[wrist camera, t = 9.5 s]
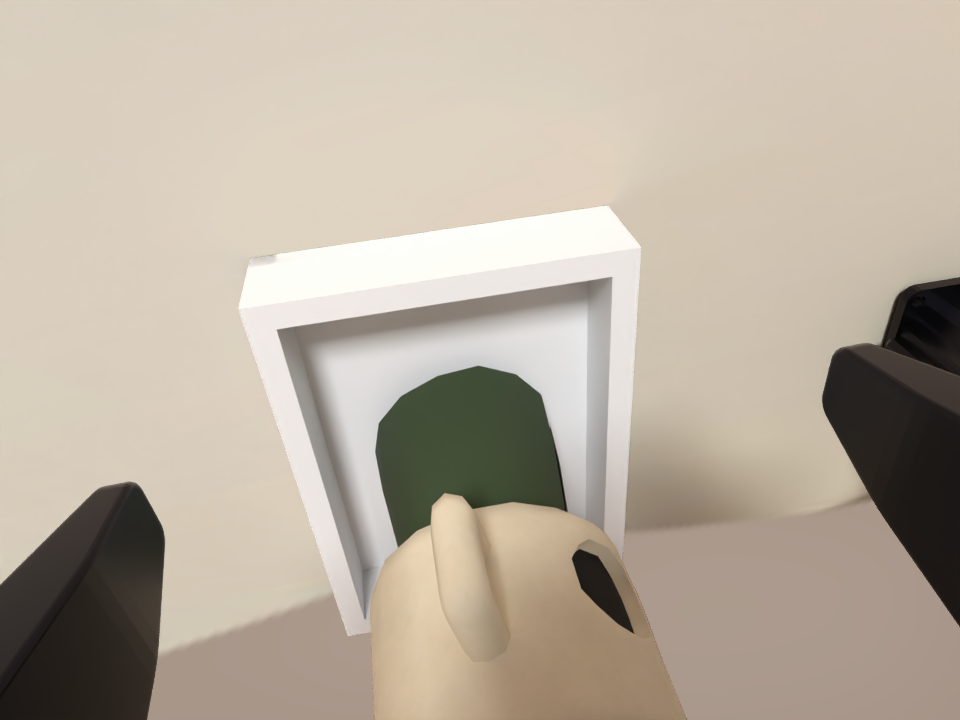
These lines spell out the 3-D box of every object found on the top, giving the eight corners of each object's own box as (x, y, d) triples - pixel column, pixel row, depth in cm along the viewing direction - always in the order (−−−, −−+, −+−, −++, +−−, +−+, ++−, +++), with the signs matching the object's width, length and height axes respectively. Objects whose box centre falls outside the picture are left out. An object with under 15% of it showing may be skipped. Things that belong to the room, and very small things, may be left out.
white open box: (607, 205, 22) (641, 247, 19) (598, 526, 31) (621, 582, 28) (250, 258, 21) (238, 309, 19) (347, 573, 30) (347, 636, 27)
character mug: (582, 493, 28) (725, 858, 18) (417, 547, 29) (463, 939, 18) (519, 269, 22) (683, 634, 12) (306, 341, 22) (277, 763, 12)
